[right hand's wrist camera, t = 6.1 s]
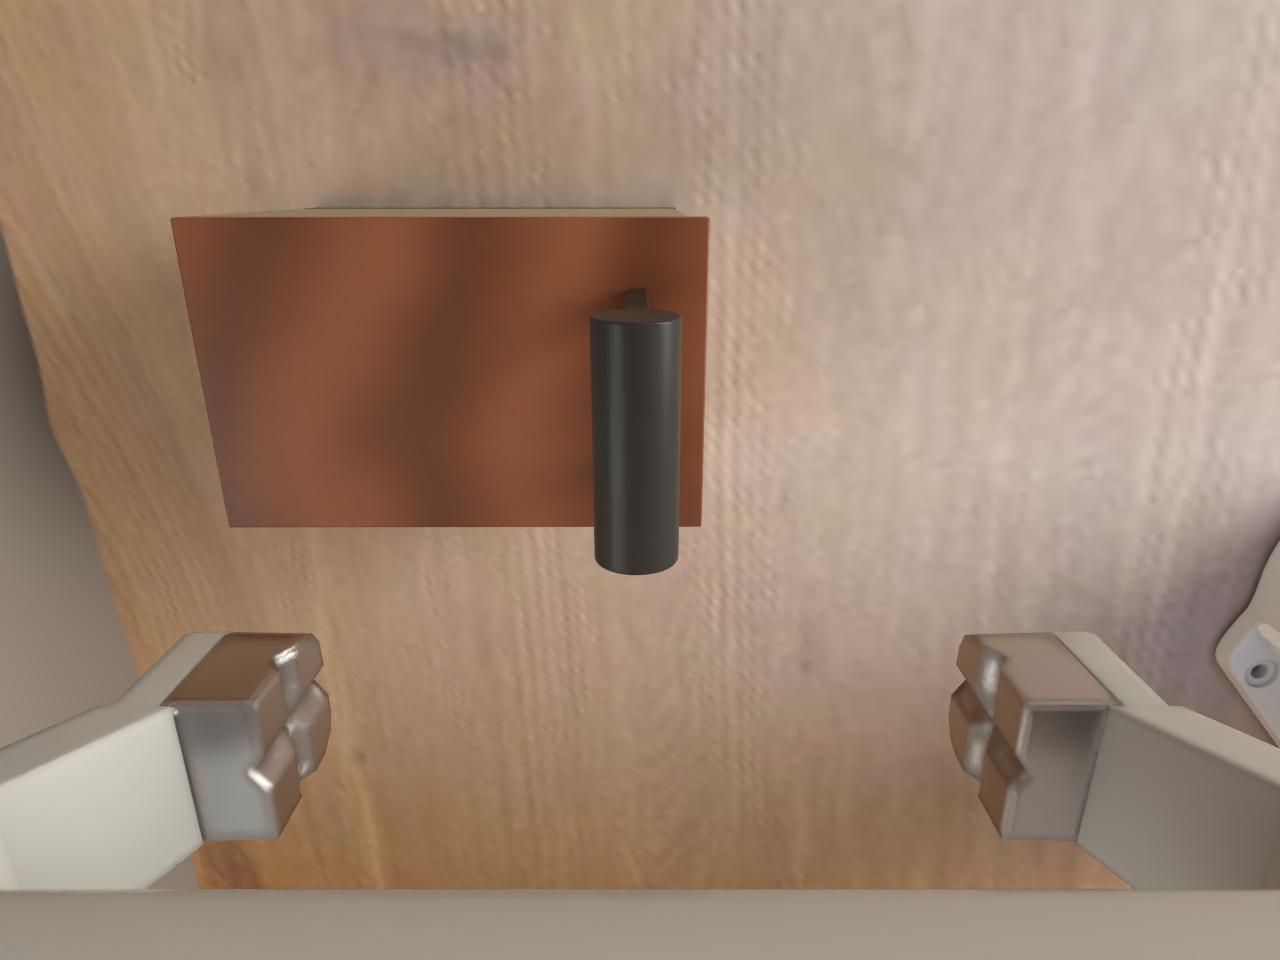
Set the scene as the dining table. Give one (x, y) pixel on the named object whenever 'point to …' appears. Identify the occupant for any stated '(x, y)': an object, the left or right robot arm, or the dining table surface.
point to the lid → (456, 372)
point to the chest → (464, 212)
